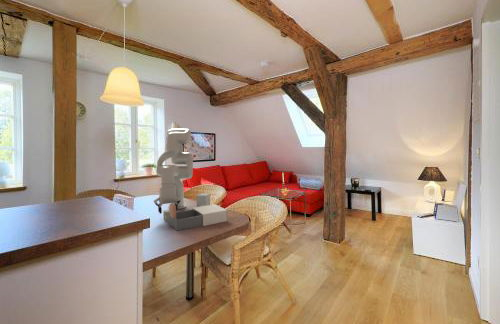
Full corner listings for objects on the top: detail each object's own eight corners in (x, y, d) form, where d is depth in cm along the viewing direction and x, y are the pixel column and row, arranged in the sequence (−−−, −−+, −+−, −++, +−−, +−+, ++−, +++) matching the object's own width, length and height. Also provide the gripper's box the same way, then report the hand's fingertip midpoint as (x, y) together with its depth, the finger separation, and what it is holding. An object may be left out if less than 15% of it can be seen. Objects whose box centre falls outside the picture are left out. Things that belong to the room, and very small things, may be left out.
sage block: (163, 219, 158) (163, 210, 157) (171, 218, 161) (171, 209, 160) (165, 221, 154) (165, 212, 153) (173, 220, 156) (173, 210, 156)
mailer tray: (167, 222, 150) (167, 202, 149) (196, 217, 160) (195, 198, 159) (175, 230, 137) (175, 208, 136) (206, 224, 147) (206, 203, 146)
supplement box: (210, 210, 178) (210, 193, 176) (206, 213, 170) (205, 195, 169) (201, 209, 180) (201, 193, 178) (196, 212, 172) (196, 195, 171)
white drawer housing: (192, 218, 160) (192, 207, 159) (214, 214, 169) (214, 204, 168) (203, 226, 145) (203, 214, 144) (227, 221, 154) (227, 210, 154)
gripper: (179, 183, 163) (179, 208, 164) (152, 186, 153) (152, 212, 154) (182, 185, 157) (183, 211, 158) (154, 187, 147) (155, 215, 148)
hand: (168, 211), depth 156 cm, fingers open, 9 cm apart
